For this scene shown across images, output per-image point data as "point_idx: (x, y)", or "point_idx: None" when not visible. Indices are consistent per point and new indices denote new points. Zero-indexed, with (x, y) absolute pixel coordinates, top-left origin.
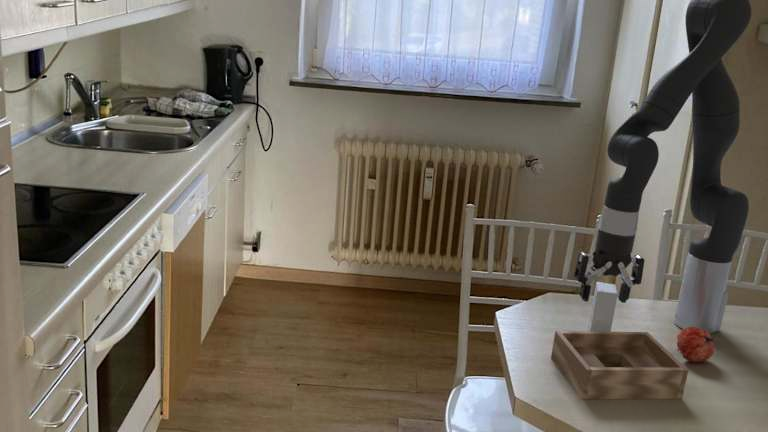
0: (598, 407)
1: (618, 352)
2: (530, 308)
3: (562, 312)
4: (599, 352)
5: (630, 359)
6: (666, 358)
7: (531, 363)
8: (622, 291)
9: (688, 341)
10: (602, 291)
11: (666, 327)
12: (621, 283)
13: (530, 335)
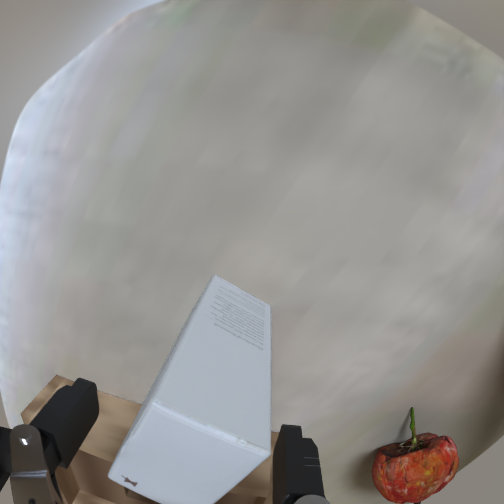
0: None
1: None
2: (111, 66)
3: (211, 99)
4: None
5: None
6: None
7: (22, 375)
8: (278, 479)
9: (381, 492)
10: (128, 487)
11: (499, 282)
12: (285, 494)
13: (37, 262)
